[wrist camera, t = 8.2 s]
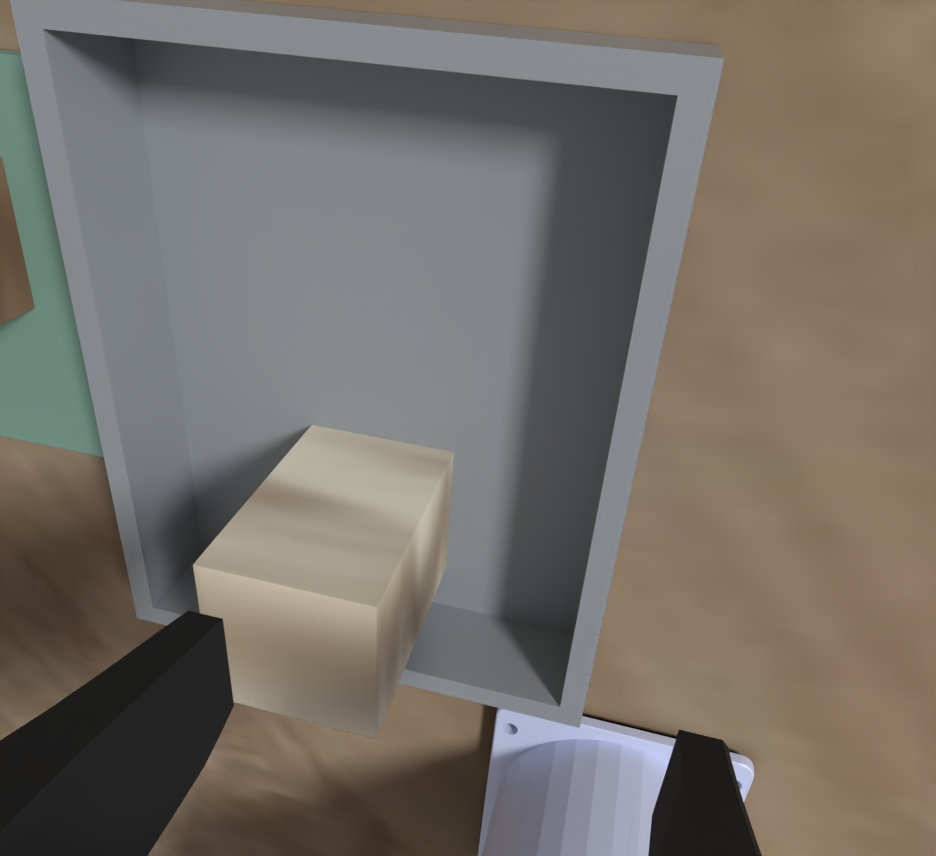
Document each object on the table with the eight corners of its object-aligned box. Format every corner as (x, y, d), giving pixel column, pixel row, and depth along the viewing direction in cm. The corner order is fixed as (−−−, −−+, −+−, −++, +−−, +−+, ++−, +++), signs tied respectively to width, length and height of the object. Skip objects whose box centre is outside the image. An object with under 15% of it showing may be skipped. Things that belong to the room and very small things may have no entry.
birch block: (445, 568, 22) (375, 738, 17) (316, 540, 23) (212, 696, 18) (453, 451, 20) (376, 607, 15) (311, 424, 21) (192, 564, 16)
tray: (592, 640, 23) (579, 727, 20) (195, 550, 25) (136, 618, 23) (717, 44, 15) (724, 58, 12) (114, -12, 17) (7, -11, 14)
